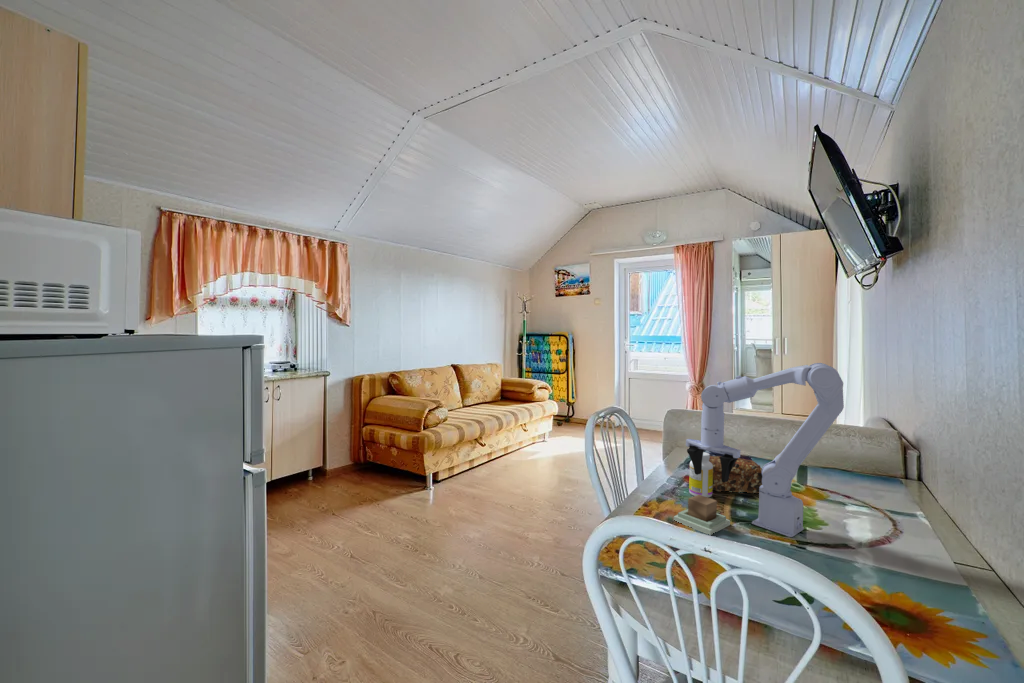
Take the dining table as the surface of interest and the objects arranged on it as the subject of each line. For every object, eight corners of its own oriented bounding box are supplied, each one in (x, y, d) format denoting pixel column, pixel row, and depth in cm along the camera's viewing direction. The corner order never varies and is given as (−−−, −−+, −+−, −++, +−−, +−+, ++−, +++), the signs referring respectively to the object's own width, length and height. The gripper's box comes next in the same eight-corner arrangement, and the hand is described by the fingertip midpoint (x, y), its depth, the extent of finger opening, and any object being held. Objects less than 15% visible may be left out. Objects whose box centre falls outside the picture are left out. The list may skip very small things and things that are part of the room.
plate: (730, 524, 113) (730, 516, 113) (710, 535, 107) (710, 526, 107) (694, 511, 121) (694, 504, 121) (673, 520, 115) (673, 512, 115)
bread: (701, 491, 137) (702, 460, 137) (693, 480, 148) (694, 451, 148) (765, 496, 134) (766, 464, 134) (752, 484, 145) (753, 454, 144)
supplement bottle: (707, 491, 137) (709, 450, 137) (715, 499, 131) (716, 456, 130) (686, 490, 138) (687, 449, 138) (692, 498, 131) (693, 455, 131)
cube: (716, 519, 113) (716, 500, 113) (705, 524, 110) (706, 504, 110) (698, 512, 117) (698, 494, 117) (687, 517, 114) (688, 498, 114)
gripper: (680, 425, 123) (679, 473, 124) (731, 435, 112) (730, 488, 112) (693, 422, 127) (692, 468, 128) (744, 432, 116) (743, 482, 116)
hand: (711, 477), depth 120 cm, fingers open, 7 cm apart
